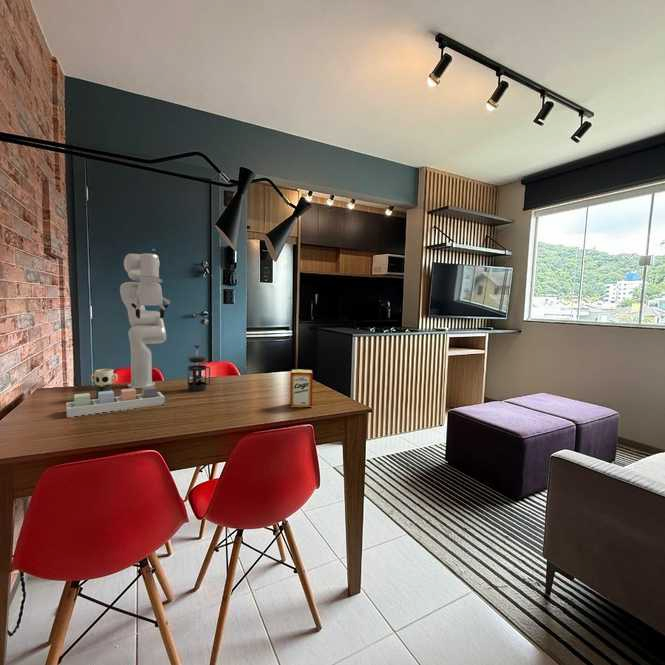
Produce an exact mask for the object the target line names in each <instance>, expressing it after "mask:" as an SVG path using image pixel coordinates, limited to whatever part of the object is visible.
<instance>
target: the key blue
mask: <svg viewBox="0 0 665 665" xmlns="http://www.w3.org/2000/svg"><path fill="white" fill-rule="evenodd" d="M114 397H115V392H114V391H113V389H112V391H102V392H98V402H99V404H104V403H112V402H114Z"/></svg>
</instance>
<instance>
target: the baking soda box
mask: <svg viewBox="0 0 665 665" xmlns="http://www.w3.org/2000/svg"><path fill="white" fill-rule="evenodd" d="M313 374H314V373H313V370H312V369H301V368H300V369H290V386H289V388H290V391H289V392H290V394H289V398H290V400H289V407H290V406H312V407H313V379H314V378H313V376H314V375H313Z"/></svg>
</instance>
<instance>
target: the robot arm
mask: <svg viewBox="0 0 665 665" xmlns="http://www.w3.org/2000/svg"><path fill="white" fill-rule="evenodd" d="M159 258H160V257H159V256H158V255H157V254H155V253H147V252H146V253H140V254H139V253H127V254H126V255H125V257H124V260H123V267H124V270H125V272H126V273H127V275H128V277H129V278H130V279H131V280H133V281H126V282H123V283H122V284H121V285H120V286H119V292H120V297H121V301H122V302H123V304H124V306H125V308H126V310H127V316H128V321H129V324H130V329H129V330H128V338H129V339H128V340H129V345H130V373H131V374H130V376H131V377H130V380H131V381H130V383H128V384H127V387H128V389H130V388H135V389H142V387H149V386H156V382H155V381H153V378H152V377H153V376H152V375H153V371H152V370H153V368H152V366H153V364H152V362H153V361H152V360H153V359H152V358H153V357H152V356H153V355H152V351H151V349H150V348H149V347H148V346H147V345H149V344H153V345H156V344H162V343H164V342H166V340H167V330H166V326H165V322H164V317H165V310H166V309H167V308H168V307H169V305H170V303H171V300H170V299H167V298H166V297H164V296H163V291H162V286H161V284H160V283H163V279H161V278H160V270H159V269H160V267H161V266H160V264H161V263H160V260H159ZM163 301H164V302H165V304H164V305H163ZM146 306H158V307H159V308H160V309H159V311H158V310H146Z"/></svg>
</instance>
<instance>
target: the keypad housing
mask: <svg viewBox="0 0 665 665" xmlns="http://www.w3.org/2000/svg"><path fill="white" fill-rule="evenodd" d="M165 398H166V397H165V395H164V394H162V392H161V391H157V397H152V398H143V397H142V393H136V400H128V401H122V400H121V395H120V396H114V402H112V403H104V404H99V402H98V399H97V398H95V399H94V398H93V399H90V405H88V406H79V407H75V406H74V401H70V402H69V401H68V402H66V403H65V404H66V406H65V407H66V408H65V410H66V411H65V412H66V418H67V417H71V418H75V417H74V416H78V417H82V416H81V415H85V416H89V415H88V414H92V415H96V414H95V413H100V414H103V413H102V412H107V413H111V412H110V411H114V412H118V411H119V410H121V411H127V409H129V410H135V409H134V408H136V409H142V407H143V408H149V406H150V407H156V405H157V406H163V405H162V404H165V405H166V403H165V402H166V401H165ZM119 412H120V411H119Z"/></svg>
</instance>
